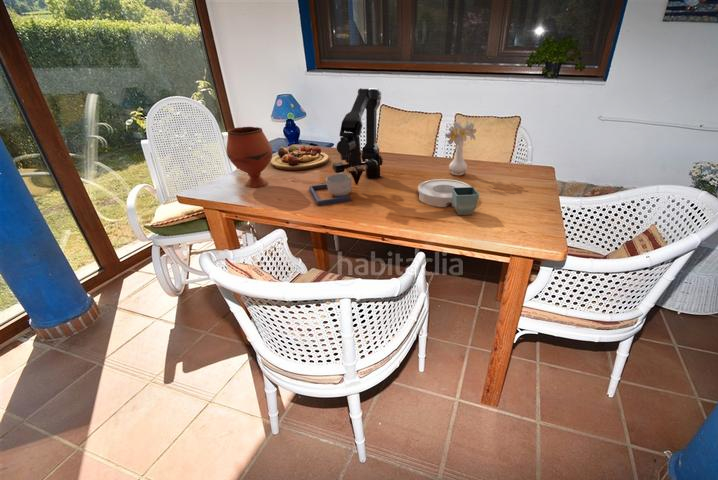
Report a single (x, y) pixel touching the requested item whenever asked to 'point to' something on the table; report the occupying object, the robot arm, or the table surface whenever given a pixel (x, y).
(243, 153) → the goblet
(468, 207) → the flower pot
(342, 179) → the teacup
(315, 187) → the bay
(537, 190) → the table surface
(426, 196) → the ashtray
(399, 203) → the table surface
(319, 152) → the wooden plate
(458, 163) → the flower vase
